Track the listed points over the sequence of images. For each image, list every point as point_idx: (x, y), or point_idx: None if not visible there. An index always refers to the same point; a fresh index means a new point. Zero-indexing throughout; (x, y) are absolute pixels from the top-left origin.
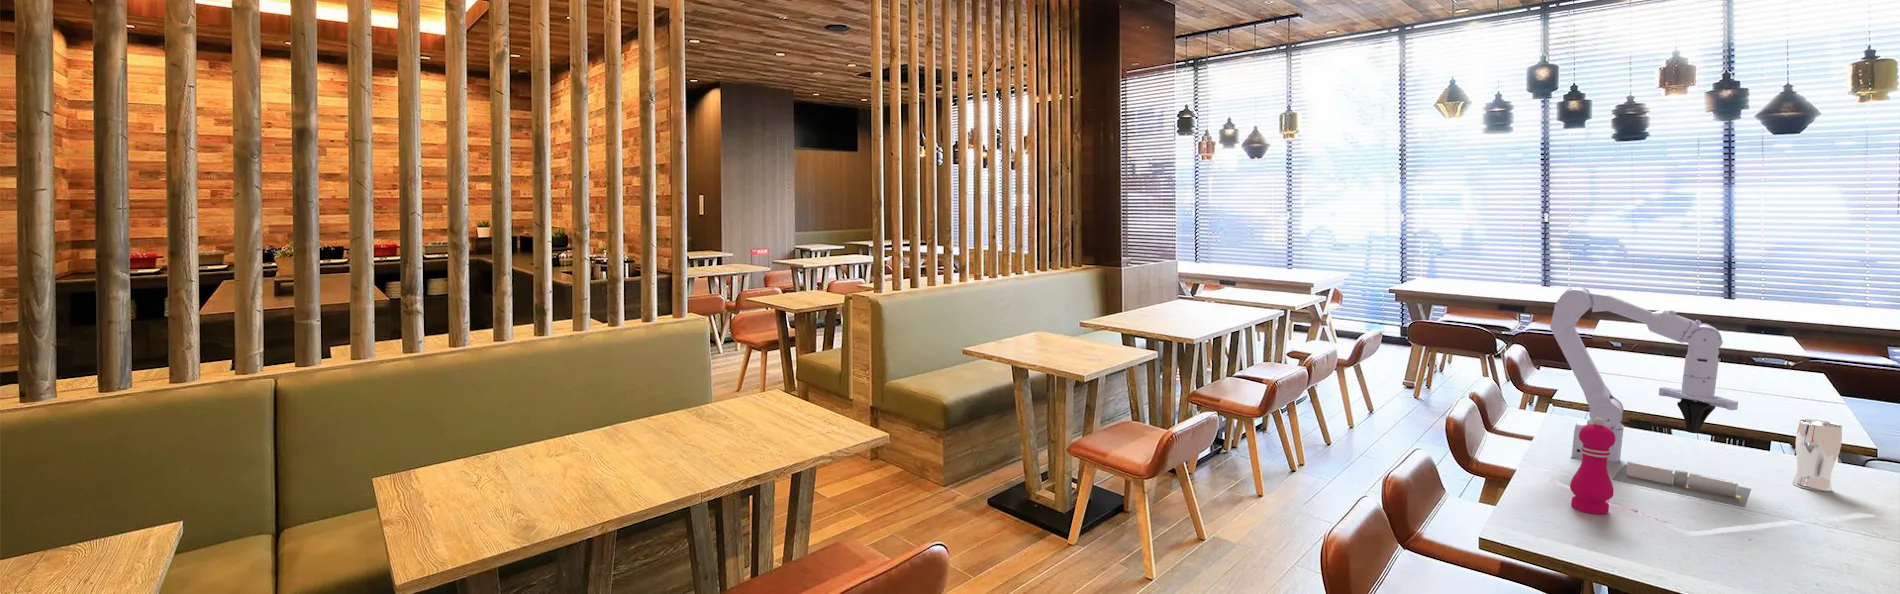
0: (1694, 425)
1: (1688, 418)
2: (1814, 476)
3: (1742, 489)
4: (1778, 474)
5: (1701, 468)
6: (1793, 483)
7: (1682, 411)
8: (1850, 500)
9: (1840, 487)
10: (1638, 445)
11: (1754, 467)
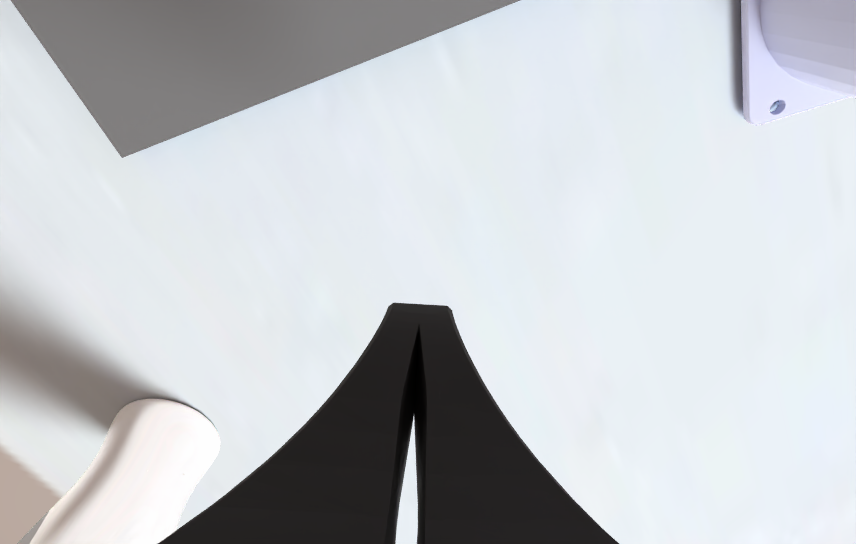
0: (367, 346)
1: (435, 401)
2: (107, 451)
3: (113, 94)
4: None
5: None
6: (199, 415)
7: (529, 474)
8: (24, 392)
9: None
10: (744, 429)
11: None
